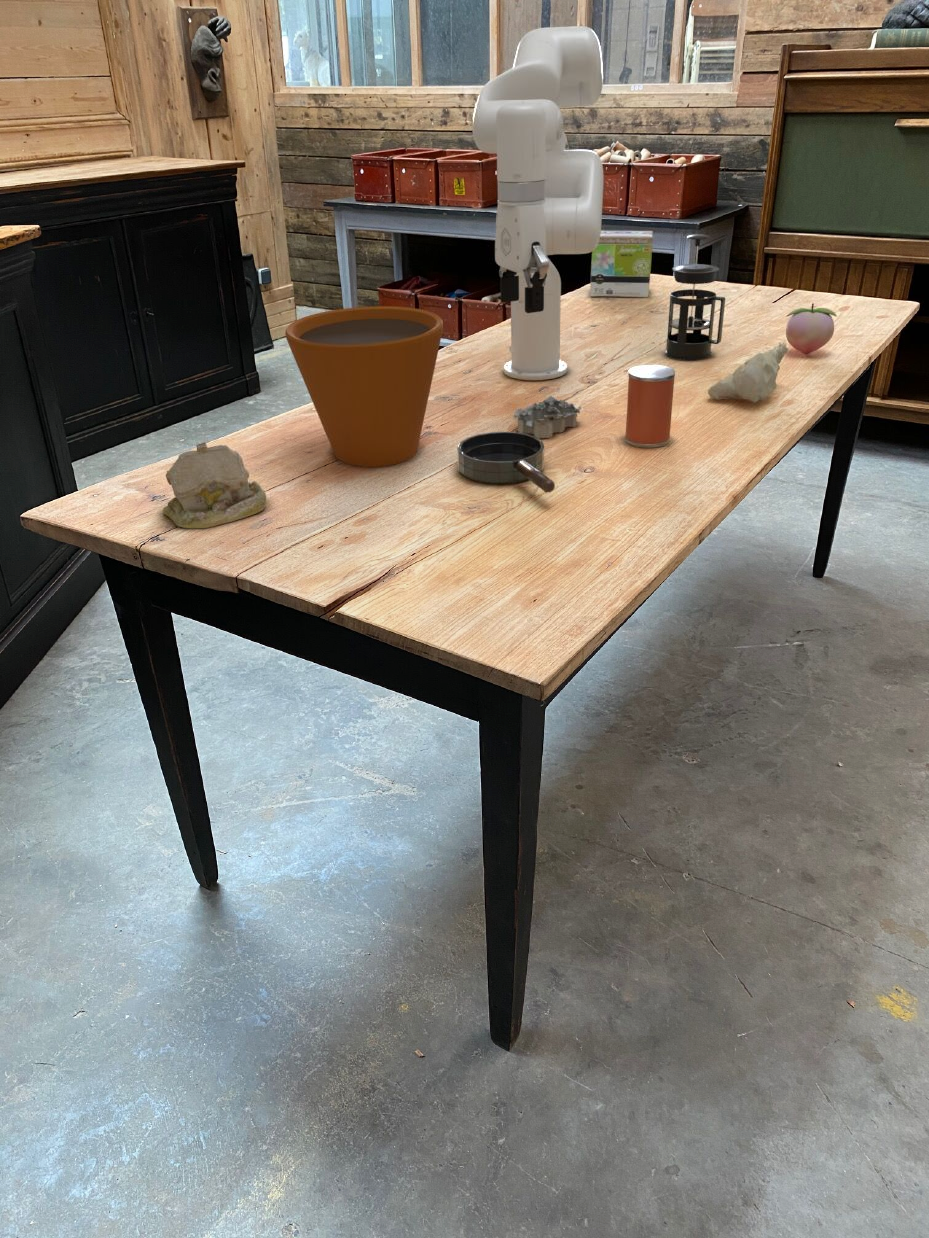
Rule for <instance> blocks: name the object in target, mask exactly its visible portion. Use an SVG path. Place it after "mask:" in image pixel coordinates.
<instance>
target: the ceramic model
mask: <svg viewBox="0 0 929 1238" xmlns="http://www.w3.org/2000/svg"><path fill="white" fill-rule="evenodd" d="M195 446H196V450H187V451H185V452H183V453H180V454H179V455H178V457H177V459H176V460H175V462H174V463H173V465H171V467H170V468H169V469H168V470H166V474H165V478H166V482H167V483H168V485H169V486H171V488H172V492H173V495H174V497H173V498H171V500H169V501H168V502H167V505H165V506H164V507H163V509H162V514H163V515H165V516H167V517H168V518H170V520H172V522H173V523H174V525H175V526H177V527H179V528H184V529H208V528H209V529H210V528H212V527H216V526H221V525H224V524H228V523H231V522H234V521H238V520H242V519H244V518H247V517H250V516H253V515H257V513H260V512H262V511H263V510H264V509H265V508H266V504H267V495H266V492H265V490H264V489H263V488H262V486H261V485H260V484H259V482H257V481H252V482H250V481H249V478H250V473H249V471H248V469H247V468H246V467H245V464H244V461H243V457H242V456H241V455H240V453H238V451H237V450H234V449H232V448H230V447H229V446H227V444H224V445H223V444H218V445H213V446H209V447H208V446H207V442H205V441H204V442H201V443H197V444H196V445H195Z"/></svg>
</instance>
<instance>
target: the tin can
mask: <svg viewBox="0 0 929 1238" xmlns="http://www.w3.org/2000/svg"><path fill="white" fill-rule="evenodd" d="M675 377H676V370H675V369H674V368H672V367H669V366H666V365H661V364H643V365H636V366H633V367H631V368H629V370H628V383H627V384H628V385H627V401H626V418H625V419H626V420H625V435H624V441H625V443H626V444H628V445H629V446H632V447H635V448H643V449H644V448H645V449H656V448H661V447H664V446H667V445H668V444H669V443H670V441H671V425H672V413H673V401H674V391H675V389H674V388H675Z"/></svg>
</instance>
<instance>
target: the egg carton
mask: <svg viewBox="0 0 929 1238" xmlns="http://www.w3.org/2000/svg"><path fill="white" fill-rule="evenodd" d="M581 410H582V407H581V406H578V408H577V407H575V404H574V403H568V402H567V401H564V400H562V399H560V400H558V399H557V398H556V397H554V396H552V395H550V396H548V397H547V398H546V399H544V400H543V401H539V402H538V403H537V402H534V403H533V404H532V405H530V406H527V407H525V408H520V409H519V408H518V409H516V410H515V411H514V414H513V415H512V418H513V419H517V425H516V426H517V427H516V429H517V430H518V433H524V434H528V435H533V436H534V437H537V438H538V439H540V440H541V439H549V438H550V439H551V438H552V437H553V434H554V433H562V432H564V431H565V428H575V427H577V425H578V422H577V418H578V415H579V414H580V413H581Z"/></svg>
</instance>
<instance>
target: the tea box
mask: <svg viewBox="0 0 929 1238" xmlns="http://www.w3.org/2000/svg"><path fill="white" fill-rule="evenodd" d="M653 233H654V231H653V230H601V234H600V239H599V243H598V245H597V247H596V248H595V249H594V250H593V251H592V252H591V265H590V281H589V283H590V286H589V287H590V288H589V295H590V297H623V298H624V297H627V298H628V297H629V298H646V299H647V298H648V297H649V293H650V283H651V282H650V281H651V270H652V257H653V255H652V254H653V242H654V240H653V239H654V236H653V235H654V234H653Z"/></svg>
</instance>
